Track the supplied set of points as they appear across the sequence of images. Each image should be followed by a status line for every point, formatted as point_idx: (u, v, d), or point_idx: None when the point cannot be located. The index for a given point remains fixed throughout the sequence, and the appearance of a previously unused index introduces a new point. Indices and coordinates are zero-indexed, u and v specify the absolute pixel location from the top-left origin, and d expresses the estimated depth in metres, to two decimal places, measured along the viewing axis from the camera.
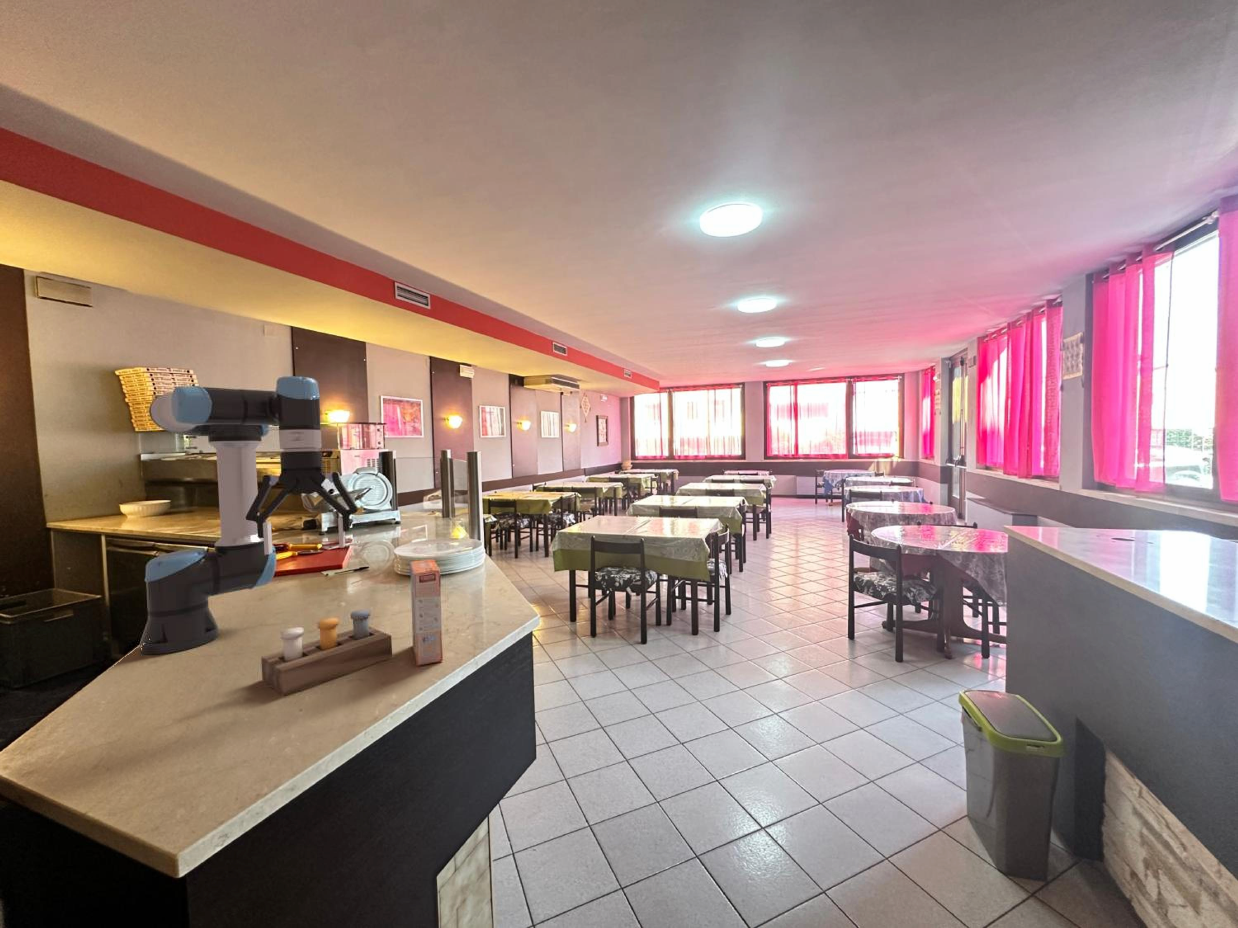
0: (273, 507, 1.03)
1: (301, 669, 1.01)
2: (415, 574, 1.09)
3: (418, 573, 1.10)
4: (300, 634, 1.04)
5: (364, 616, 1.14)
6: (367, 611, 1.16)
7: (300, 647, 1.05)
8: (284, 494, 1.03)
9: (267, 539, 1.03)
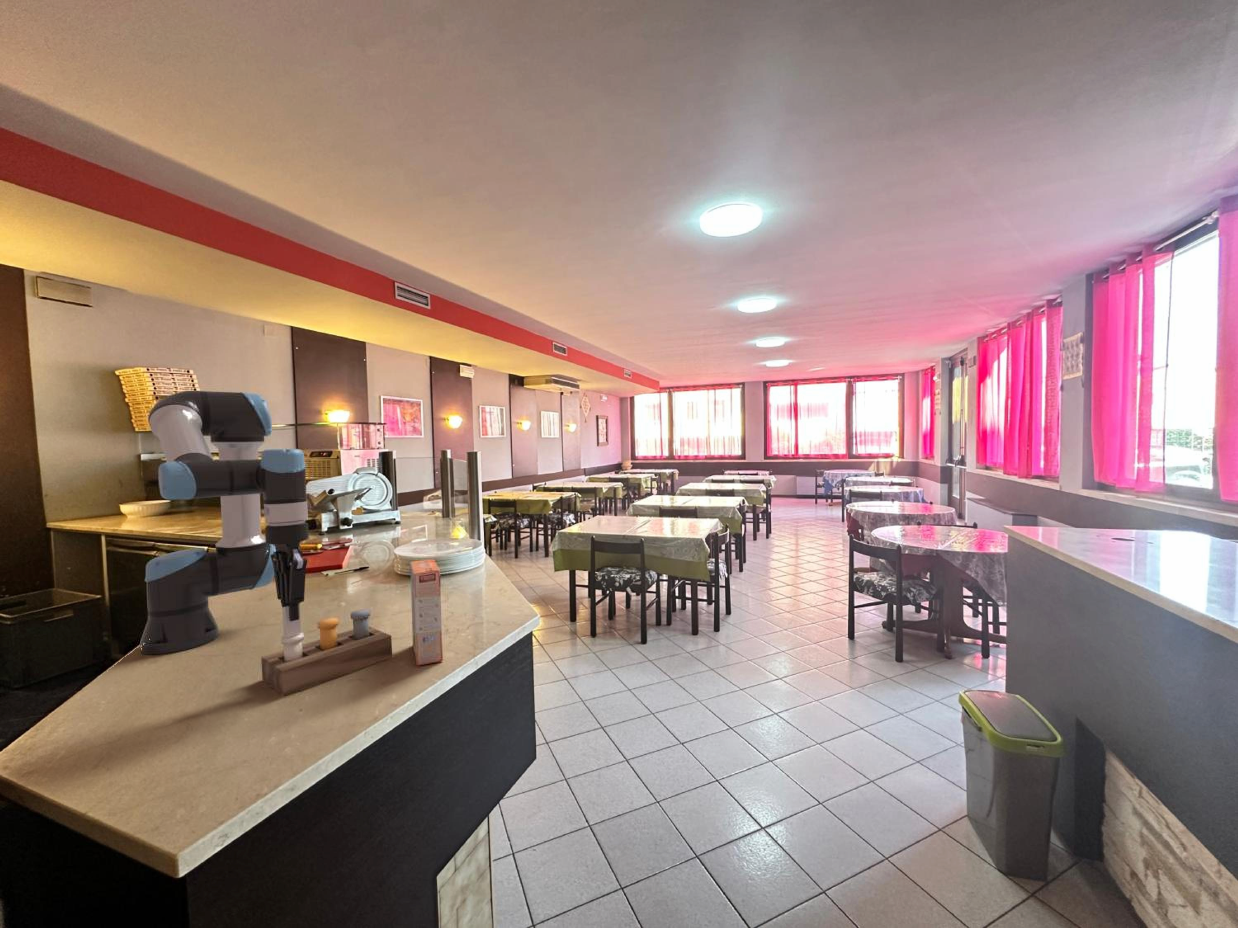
0: (281, 585, 1.04)
1: (301, 669, 1.01)
2: (415, 574, 1.09)
3: (418, 573, 1.10)
4: (300, 639, 1.04)
5: (364, 616, 1.14)
6: (367, 611, 1.16)
7: (300, 652, 1.05)
8: (277, 569, 1.03)
9: (284, 621, 1.03)
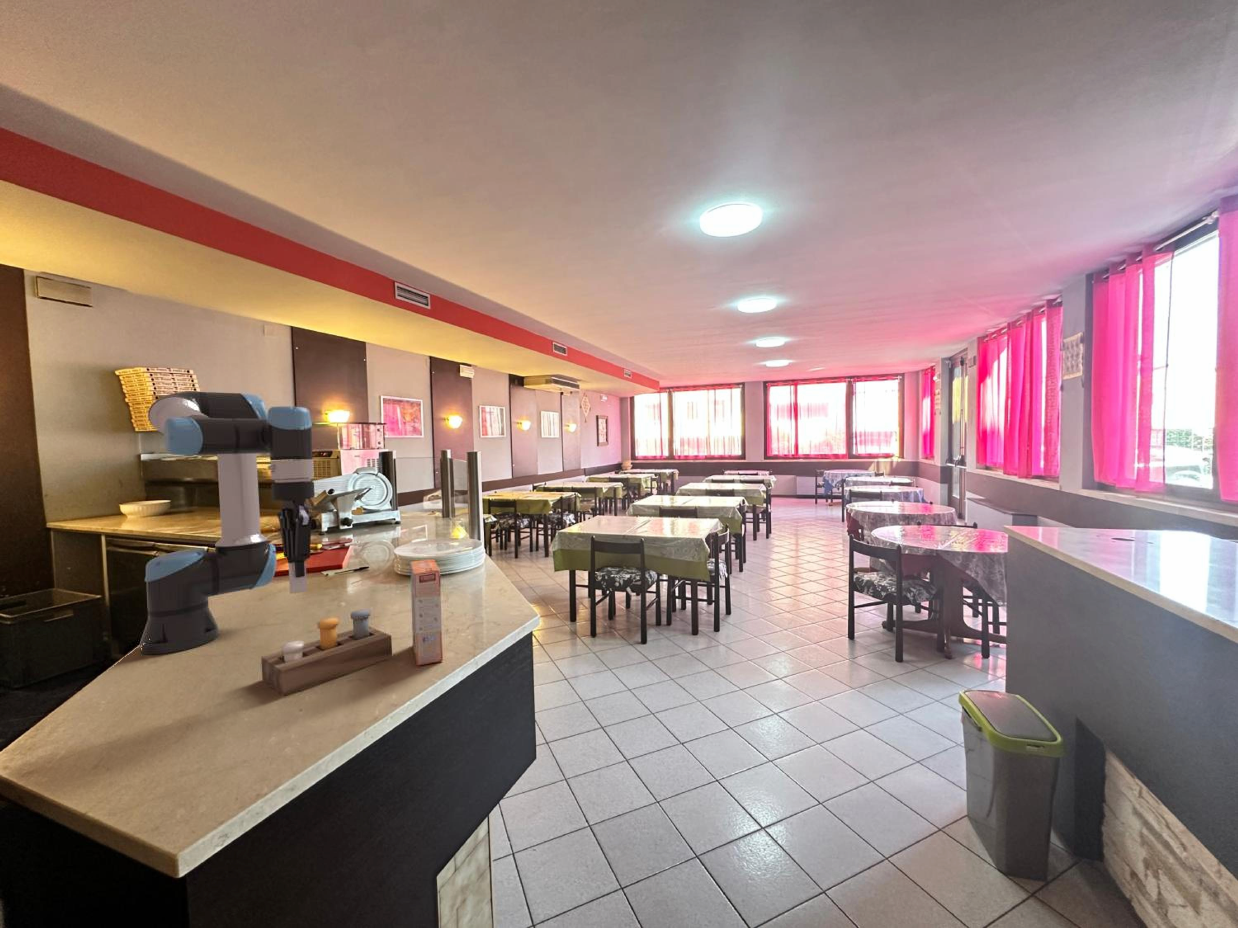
0: (288, 542, 1.05)
1: (301, 669, 1.01)
2: (415, 574, 1.09)
3: (418, 573, 1.10)
4: (301, 648, 1.04)
5: (364, 616, 1.14)
6: (367, 611, 1.16)
7: None
8: (284, 526, 1.04)
9: (290, 578, 1.04)
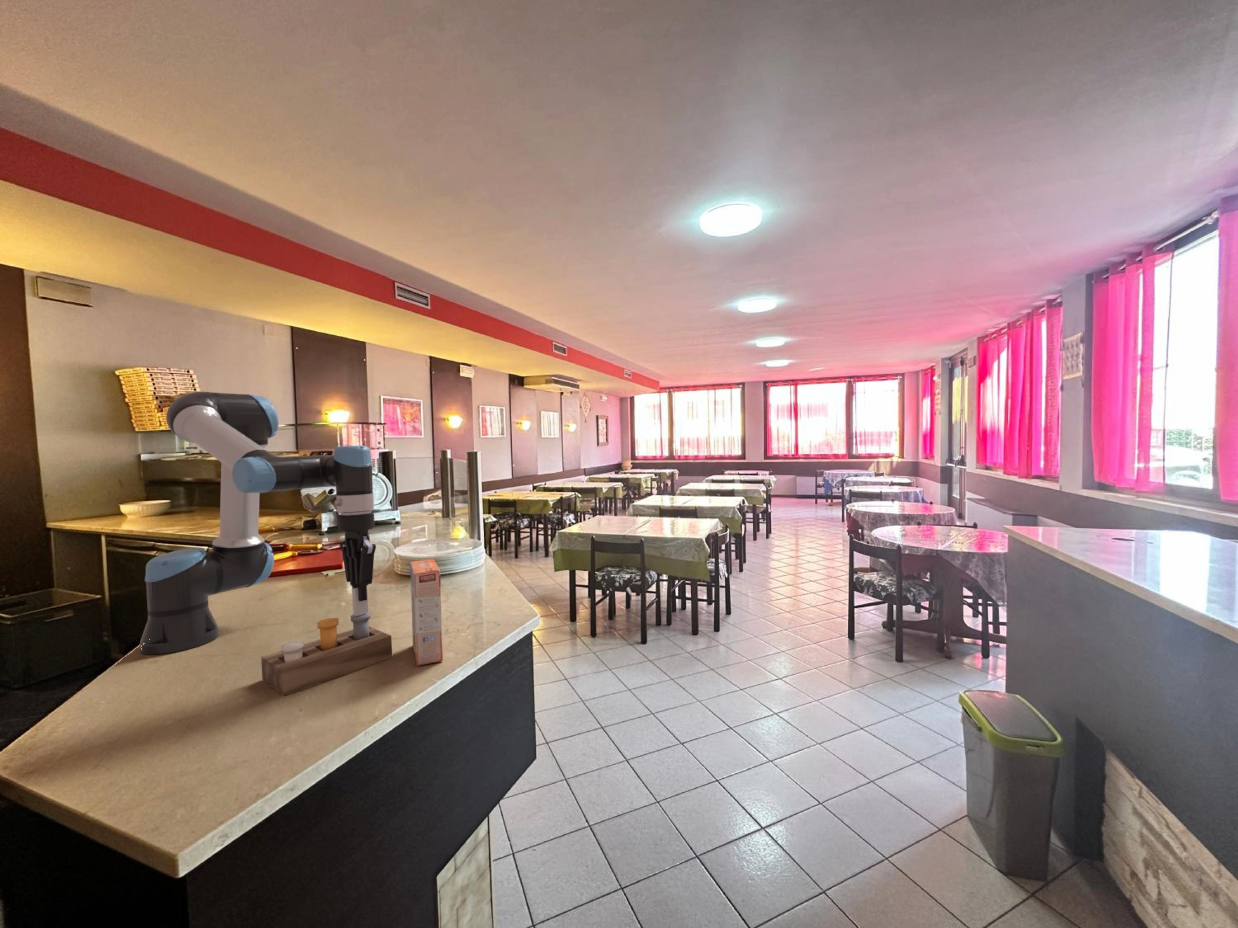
0: (351, 568, 1.15)
1: (301, 669, 1.01)
2: (415, 574, 1.09)
3: (418, 573, 1.10)
4: (301, 648, 1.04)
5: (364, 619, 1.14)
6: (367, 613, 1.16)
7: None
8: (348, 554, 1.14)
9: (354, 602, 1.14)
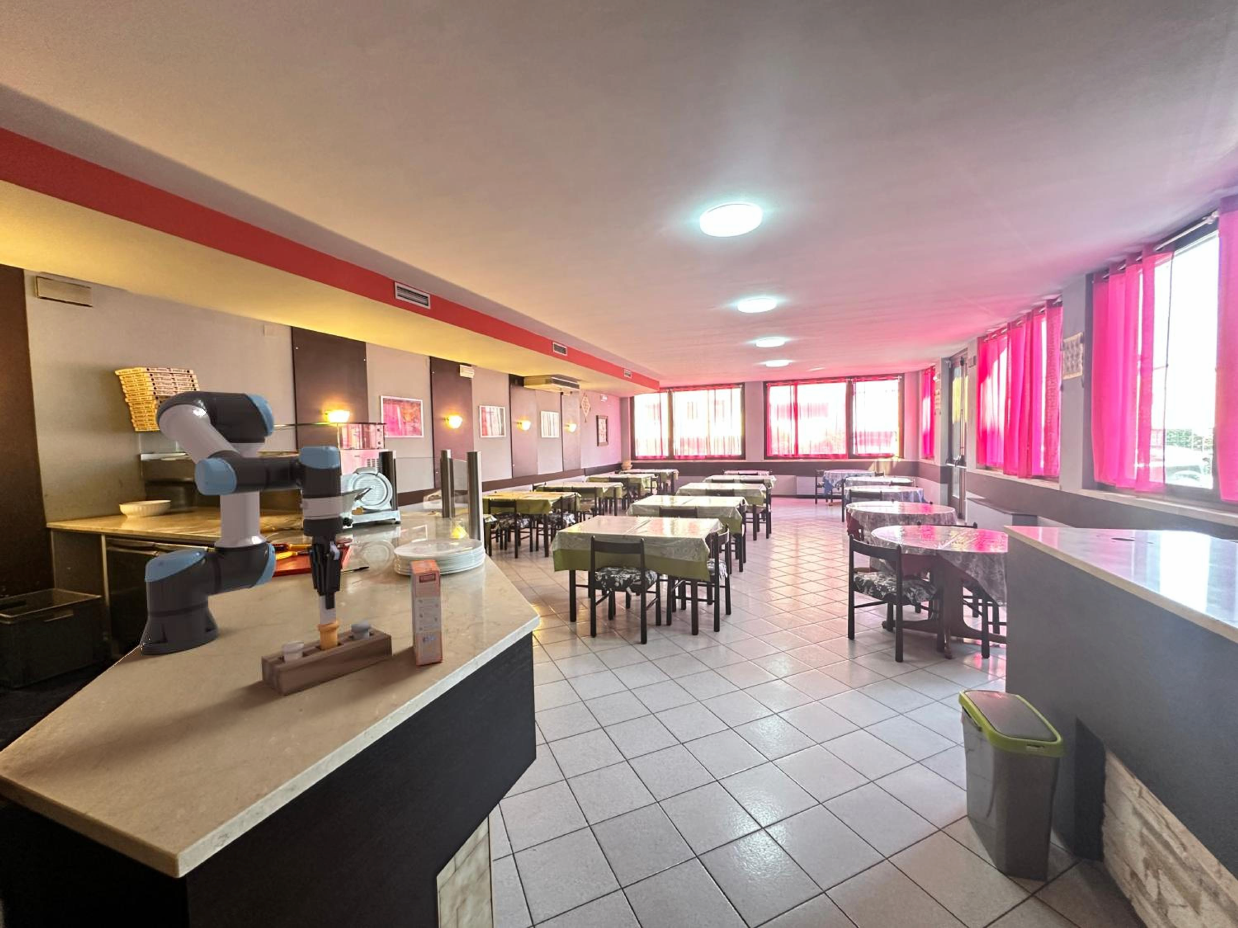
0: (318, 575, 1.09)
1: (301, 669, 1.01)
2: (415, 574, 1.09)
3: (418, 573, 1.10)
4: (301, 648, 1.04)
5: (365, 628, 1.14)
6: (368, 623, 1.16)
7: None
8: (314, 560, 1.09)
9: (321, 610, 1.09)
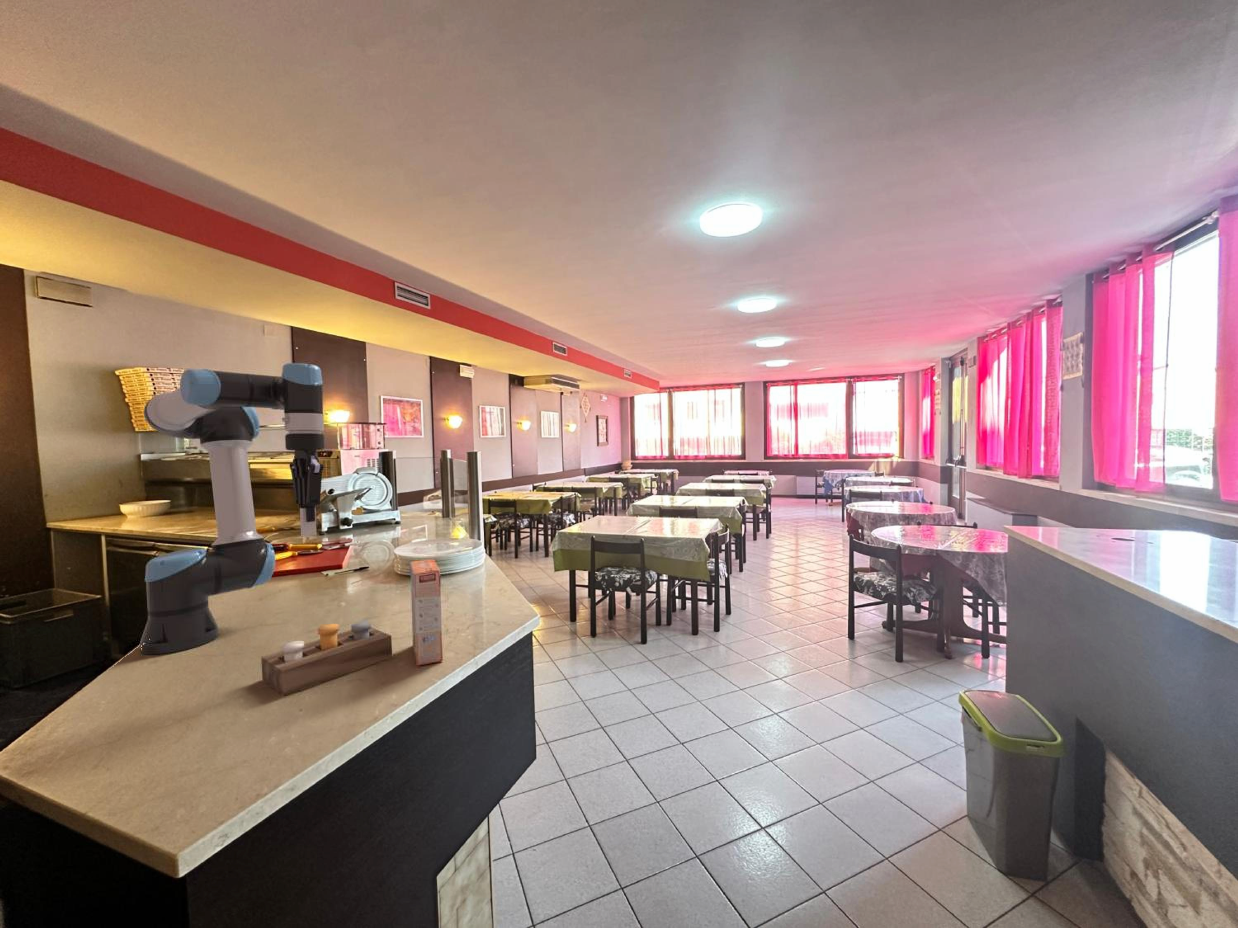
0: (299, 489, 1.13)
1: (301, 669, 1.01)
2: (415, 574, 1.09)
3: (418, 573, 1.10)
4: (301, 648, 1.04)
5: (365, 628, 1.14)
6: (368, 623, 1.16)
7: None
8: (296, 475, 1.13)
9: (301, 523, 1.13)
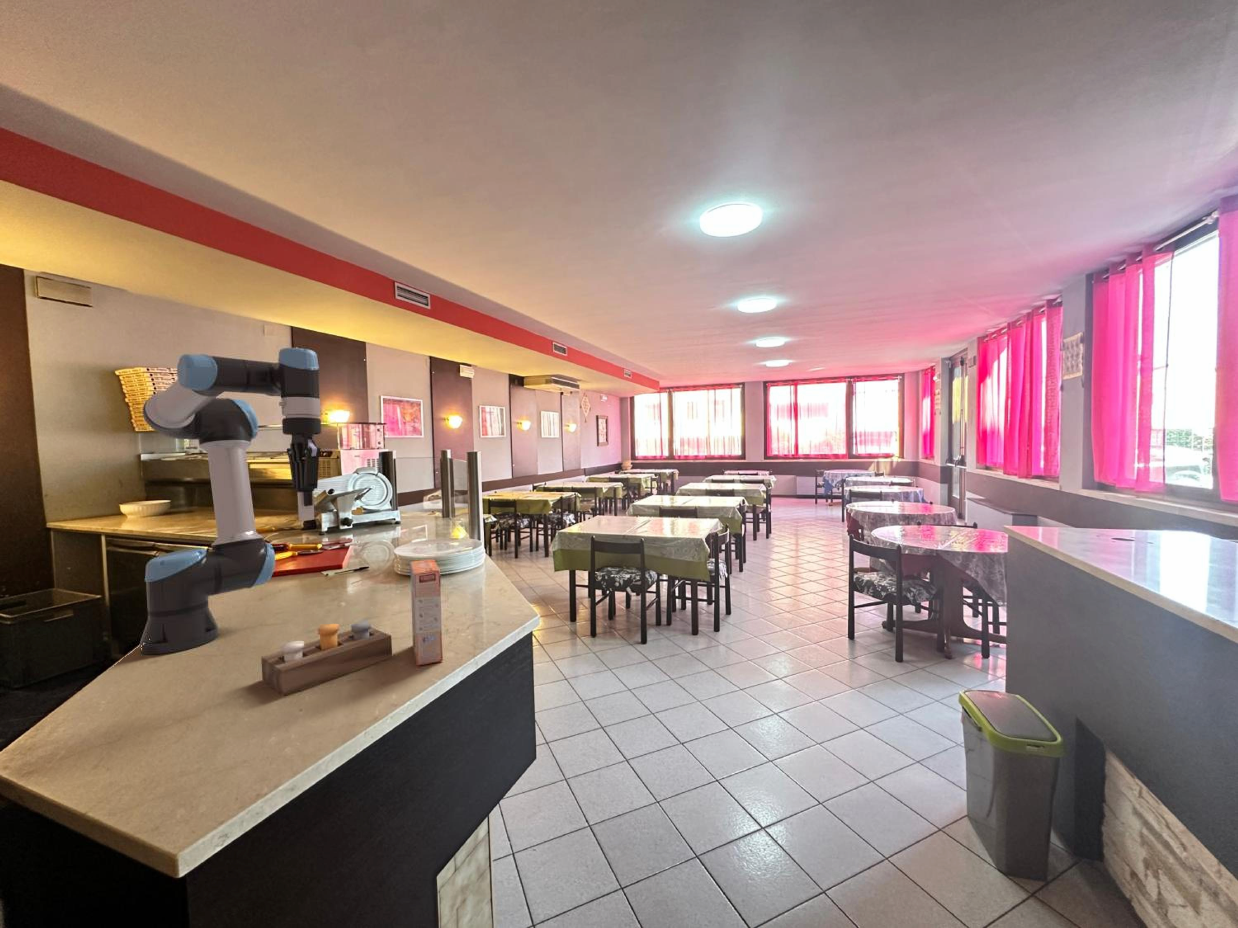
0: (297, 474, 1.14)
1: (301, 669, 1.01)
2: (415, 574, 1.09)
3: (418, 573, 1.10)
4: (301, 648, 1.04)
5: (365, 628, 1.14)
6: (368, 623, 1.16)
7: None
8: (293, 459, 1.14)
9: (299, 507, 1.14)
